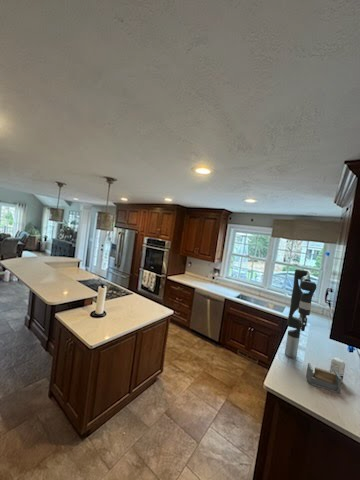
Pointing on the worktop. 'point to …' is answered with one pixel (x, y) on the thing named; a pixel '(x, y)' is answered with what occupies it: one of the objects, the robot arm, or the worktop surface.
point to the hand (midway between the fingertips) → (301, 328)
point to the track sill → (322, 383)
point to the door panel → (325, 375)
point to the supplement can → (337, 366)
